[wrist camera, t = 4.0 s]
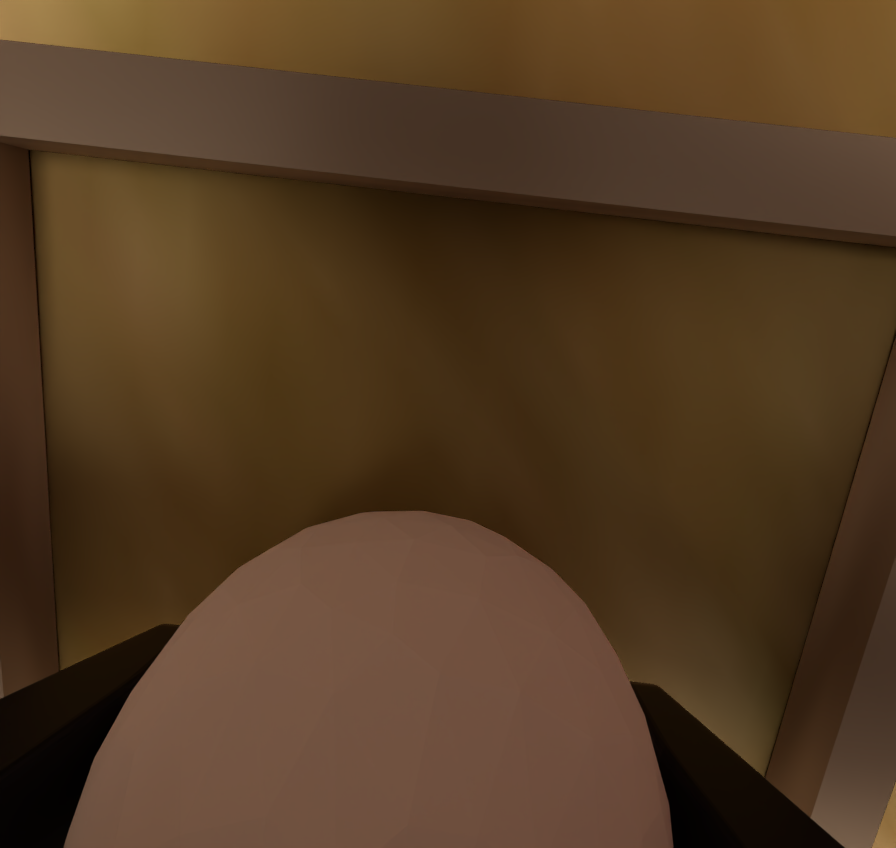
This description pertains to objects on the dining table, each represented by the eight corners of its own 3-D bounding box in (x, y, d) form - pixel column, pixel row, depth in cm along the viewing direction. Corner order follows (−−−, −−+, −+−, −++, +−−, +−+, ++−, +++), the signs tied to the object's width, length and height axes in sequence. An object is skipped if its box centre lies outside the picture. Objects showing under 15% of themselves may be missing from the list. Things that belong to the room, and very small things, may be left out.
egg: (386, 799, 10) (197, 1933, 3) (180, 565, 10) (-687, 1447, 2) (657, 645, 10) (1203, 1775, 2) (458, 369, 9) (380, 868, 1)
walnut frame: (761, 981, 11) (793, 1063, 10) (19, 882, 12) (-32, 951, 10) (1025, 178, 8) (1118, 163, 7) (-52, 58, 8) (-141, 24, 7)
